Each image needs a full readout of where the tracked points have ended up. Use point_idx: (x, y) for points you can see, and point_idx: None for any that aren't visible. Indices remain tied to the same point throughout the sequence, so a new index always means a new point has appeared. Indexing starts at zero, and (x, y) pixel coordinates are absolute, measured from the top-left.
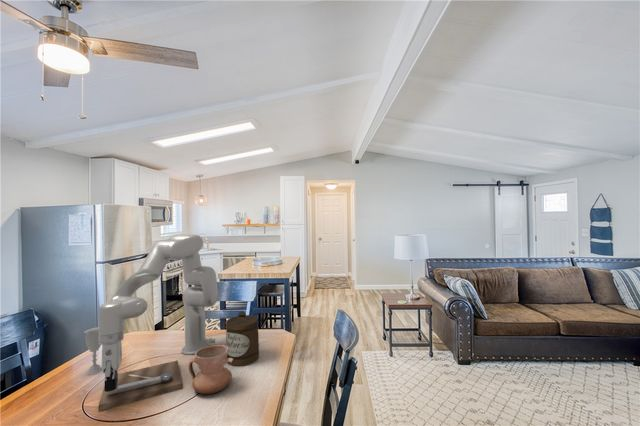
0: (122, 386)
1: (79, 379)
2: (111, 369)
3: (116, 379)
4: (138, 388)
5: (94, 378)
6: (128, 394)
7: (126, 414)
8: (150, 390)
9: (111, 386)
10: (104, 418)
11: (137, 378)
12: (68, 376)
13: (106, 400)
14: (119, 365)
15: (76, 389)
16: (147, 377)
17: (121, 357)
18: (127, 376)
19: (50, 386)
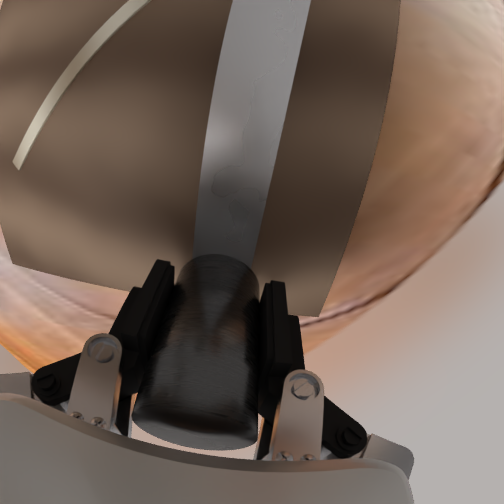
0: (236, 217)
1: (12, 315)
2: (154, 426)
3: (233, 319)
4: None
5: (7, 283)
6: (320, 164)
7: (450, 194)
8: (381, 24)
9: (298, 330)
10: (399, 274)
11: (76, 96)
12: (2, 328)
13: (292, 287)
14: (309, 502)
15: (63, 332)
16: (114, 20)
17: (42, 496)
18: (27, 169)
19: (42, 361)
